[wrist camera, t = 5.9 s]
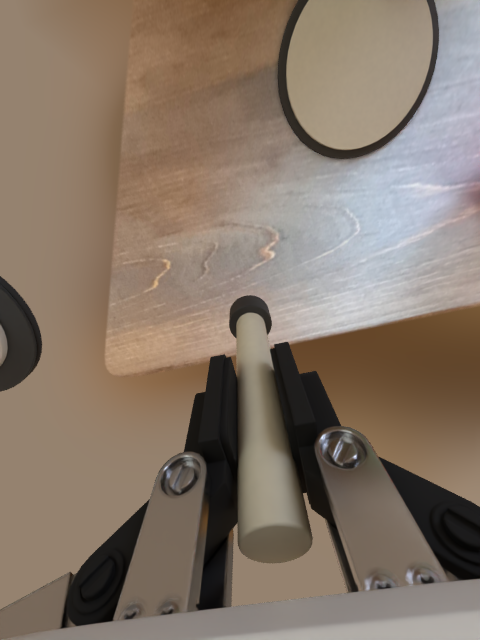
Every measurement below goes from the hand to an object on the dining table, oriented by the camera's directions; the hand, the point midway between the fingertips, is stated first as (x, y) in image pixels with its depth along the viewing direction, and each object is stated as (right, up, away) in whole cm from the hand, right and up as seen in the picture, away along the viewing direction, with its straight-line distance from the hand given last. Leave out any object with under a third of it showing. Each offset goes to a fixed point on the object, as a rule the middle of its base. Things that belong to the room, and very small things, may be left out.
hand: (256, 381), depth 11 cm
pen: (0, +3, +6) cm, 7 cm away
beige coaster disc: (+8, +22, +10) cm, 25 cm away
